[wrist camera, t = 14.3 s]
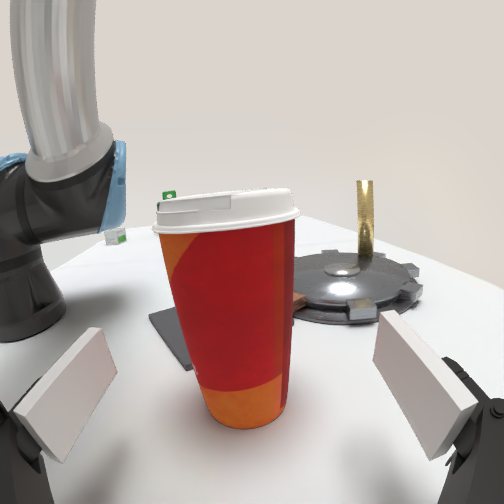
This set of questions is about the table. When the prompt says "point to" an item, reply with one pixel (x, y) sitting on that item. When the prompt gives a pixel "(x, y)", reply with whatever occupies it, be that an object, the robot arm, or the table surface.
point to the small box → (115, 236)
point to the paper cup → (234, 296)
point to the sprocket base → (342, 317)
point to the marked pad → (173, 334)
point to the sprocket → (354, 273)
